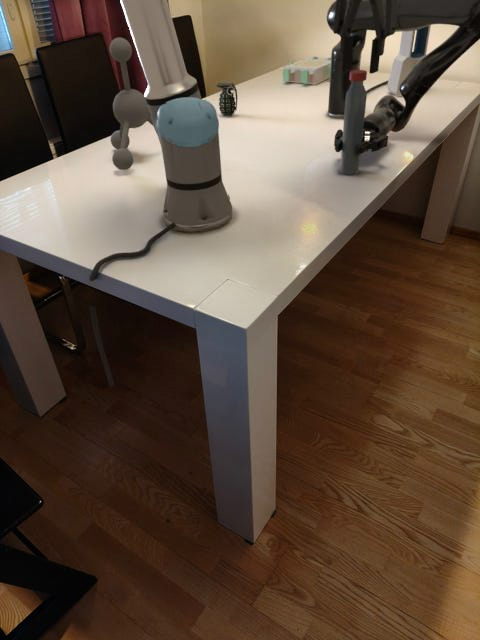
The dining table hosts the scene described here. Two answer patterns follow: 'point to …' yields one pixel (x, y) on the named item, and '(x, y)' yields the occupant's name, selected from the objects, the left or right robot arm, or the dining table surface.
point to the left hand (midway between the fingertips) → (359, 70)
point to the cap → (358, 75)
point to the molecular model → (126, 107)
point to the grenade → (227, 99)
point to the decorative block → (308, 71)
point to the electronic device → (408, 57)
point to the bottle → (353, 127)
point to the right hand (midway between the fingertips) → (347, 149)
